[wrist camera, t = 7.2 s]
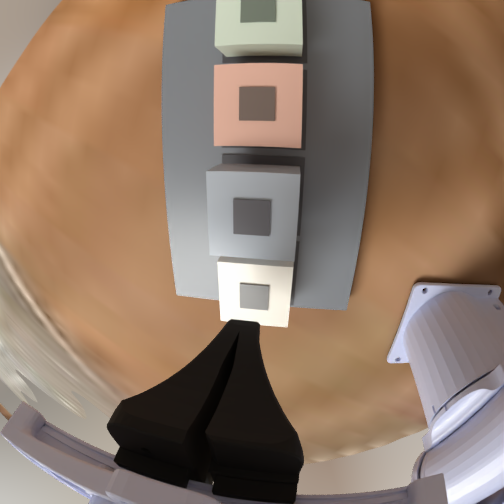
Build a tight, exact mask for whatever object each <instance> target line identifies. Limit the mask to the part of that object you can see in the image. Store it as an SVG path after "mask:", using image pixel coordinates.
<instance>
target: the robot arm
mask: <svg viewBox="0 0 504 504" xmlns="http://www.w3.org/2000/svg"><path fill="white" fill-rule="evenodd" d="M424 288H426V290H424V291H422V290H423V289H424ZM500 293H501V288H500V286H498V285H474V284H449V283H428V282H418V283H416V284H415V285H414V286H413V287H412V291H411V294H410V297H409V300H408V303H407V306H406V309H405V312H404V315H403V317H402V320H401V323H400V326H399V328H398V331H397V334H396V336H395V339H394V341H393V344H392V346H391V349H390V351H389V354H388V356H387V361H388V362H389V363H410V366H411V369H412V372H413V375H414V379H415V382H416V385H417V388H418V392H419V395H420V398H421V402H422V405H423V409H424V413H425V416H426V420H427V424H428V428H429V431H428V433H427V434H426V435H425V436H423V437H422V440H423V445H424V450H425V451H423V452H422V453H421V455H420V456H419V457H418V458H417V460H416V462H415V464H414V467H413V471H412V479H411V483H410V484H409V485H408V486H405V487H400V488H394V489H388V490H381V491H373V492H365V493H353V494H335V495H296V492H297V484H298V481H299V473H300V471H301V468H302V466H303V464H304V456H303V450H302V447H301V443H300V440H299V437H298V434H297V432H296V431H295V429H294V428H293V426H292V425H291V423H290V422H289V420H288V419H287V417H286V415H285V414H284V412H283V410H282V408H281V406H280V404H279V402H278V400H277V398H276V396H275V394H274V392H273V390H272V387H271V385H270V382H269V379H268V377H267V374H266V370H265V367H264V363H263V359H262V355H261V349H260V343H259V336H260V324H259V323H258V322H255V321H245V320H236V319H230V320H229V321H228V322H227V323H226V325H225V326H224V327H223V329H222V330H221V331H220V332H219V334H218V335H217V336H216V337H215V338H214V339H213V340H212V341H211V343H210V344H209V345H208V346H207V347H206V348H205V349H204V350H203V351H202V352H201V353H200V354H199V355H198V356H197V357H196V358H194V359H193V360H192V361H191V362H190V363H189V364H187V365H186V366H185V367H184V368H182V369H181V370H180V371H178V372H177V373H176V374H174V375H173V376H171V377H170V378H168V379H167V380H165V381H163V382H162V383H160V384H158V385H156V386H154V387H153V388H151V389H149V390H147V391H145V392H143V393H140V394H138V395H135V396H133V397H130V398H128V399H125V400H122V401H121V403H120V404H119V405H118V407H117V408H116V410H115V411H114V413H113V415H112V417H111V418H110V420H109V422H108V424H107V429H108V431H109V433H110V434H111V436H112V437H113V438H114V440H115V441H116V442H117V443H118V445H119V446H120V448H119V450H118V452H117V454H116V456H115V455H113V454H110V453H108V452H106V451H103V450H101V449H99V448H97V447H94V446H92V445H90V444H88V443H86V442H84V441H82V440H80V439H78V438H76V437H74V436H72V435H70V434H68V433H67V432H65V431H63V430H61V429H59V428H57V427H56V426H54V425H52V424H51V423H49V422H47V421H46V420H45V418H44V417H43V416H42V415H41V413H40V412H38V411H37V410H36V409H34V408H33V407H31V406H30V405H28V404H27V403H25V402H22V403H21V404H20V405H19V407H18V408H17V410H16V411H15V412H14V414H13V415H12V416H11V418H10V419H9V421H8V422H7V424H6V425H5V427H4V428H3V429H2V431H1V432H0V433H1V435H2V436H3V437H4V438H5V439H6V440H7V441H8V442H9V443H10V444H11V445H12V446H13V447H15V448H16V449H17V450H18V451H19V452H20V453H21V454H22V455H23V456H25V457H26V458H27V459H28V460H30V461H31V462H32V463H34V464H35V465H36V466H38V467H39V468H41V469H42V470H44V471H45V472H46V473H48V474H49V475H51V476H52V477H54V478H56V479H57V480H58V481H60V482H61V483H63V484H65V485H66V486H68V487H70V488H71V489H73V490H75V491H76V492H78V493H80V494H81V495H83V496H85V497H87V498H89V499H90V501H89V503H88V504H504V305H503V304H502V302H501V301H500V300H499V299H498V298H499V295H500ZM398 357H399V358H398ZM213 482H214V484H213ZM212 484H213V485H212Z"/></svg>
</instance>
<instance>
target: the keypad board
mask: <svg viewBox="0 0 504 504" xmlns="http://www.w3.org/2000/svg"><path fill="white" fill-rule="evenodd" d="M215 19H216V0H188V1H183V2H178V3H173V4H168V5H166V10H165V22H164V37H163V58H162V141H163V164H164V181H165V195H166V208H167V219H168V229H169V239H170V248H171V256H172V264H173V272H174V279H175V287H176V293H177V295H180V296H188V297H196V298H205V299H213V300H219V284H218V265H217V261H218V260H219V258H220V256H213V255H210V254H209V236H208V214H207V188H206V171H207V170H209V169H211V168H213V167H215V166H217V165H218V164H261V165H283V166H299V167H300V174H301V175H300V193H299V209H298V224H297V237H296V250H295V262H294V265H293V278H292V288H291V299H290V307H301V308H316V309H333V310H347V305H348V301H349V296H350V292H351V287H352V282H353V277H354V272H355V267H356V262H357V256H358V251H359V245H360V239H361V233H362V226H363V219H364V212H365V205H366V197H367V188H368V179H369V169H370V158H371V145H372V129H373V105H374V56H373V33H372V19H371V8H370V2H368V1H362V0H302V27H303V48H302V57H298V56H235V57H226V56H225V55H224V54H223V53H222V52H220V51H219V50H218V49H217V48H216V47H215ZM240 63H289V64H303V96H302V135H301V148H287V147H264V146H214V65H221V64H240Z"/></svg>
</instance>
